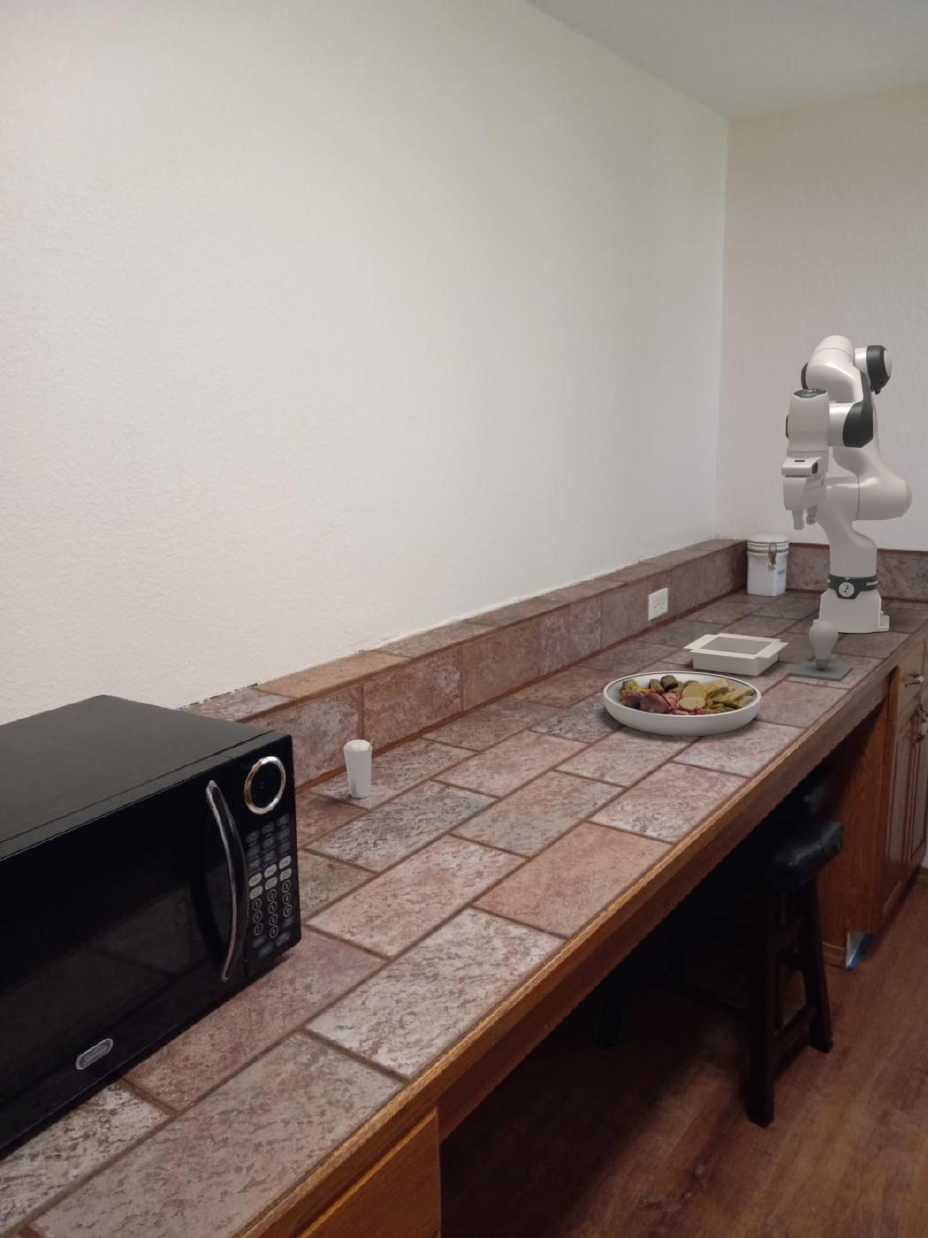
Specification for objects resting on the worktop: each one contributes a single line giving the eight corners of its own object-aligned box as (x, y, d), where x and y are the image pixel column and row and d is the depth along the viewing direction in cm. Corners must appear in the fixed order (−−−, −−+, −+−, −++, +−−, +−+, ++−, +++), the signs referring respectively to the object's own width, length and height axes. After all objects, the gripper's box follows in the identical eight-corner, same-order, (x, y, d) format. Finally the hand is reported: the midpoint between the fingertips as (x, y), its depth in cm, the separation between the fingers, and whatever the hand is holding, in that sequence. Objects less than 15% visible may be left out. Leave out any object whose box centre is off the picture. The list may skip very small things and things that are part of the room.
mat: (802, 663, 226) (802, 660, 226) (852, 669, 220) (852, 666, 220) (787, 675, 218) (788, 672, 217) (839, 681, 211) (840, 678, 211)
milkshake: (367, 803, 157) (363, 743, 155) (340, 797, 160) (336, 738, 158) (384, 793, 161) (380, 734, 159) (358, 787, 164) (354, 729, 161)
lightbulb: (832, 665, 221) (834, 617, 219) (839, 673, 215) (842, 624, 213) (804, 666, 222) (806, 618, 219) (810, 673, 216) (812, 624, 214)
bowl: (643, 686, 214) (643, 651, 213) (781, 706, 197) (783, 668, 196) (575, 726, 191) (575, 686, 189) (726, 753, 174) (727, 710, 172)
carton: (709, 650, 241) (710, 632, 240) (791, 659, 230) (791, 640, 229) (678, 669, 225) (678, 650, 224) (764, 680, 214) (764, 660, 213)
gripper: (806, 460, 228) (804, 520, 231) (778, 467, 212) (776, 532, 215) (834, 460, 225) (831, 521, 228) (808, 467, 209) (806, 533, 212)
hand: (804, 526), depth 221 cm, fingers open, 8 cm apart
